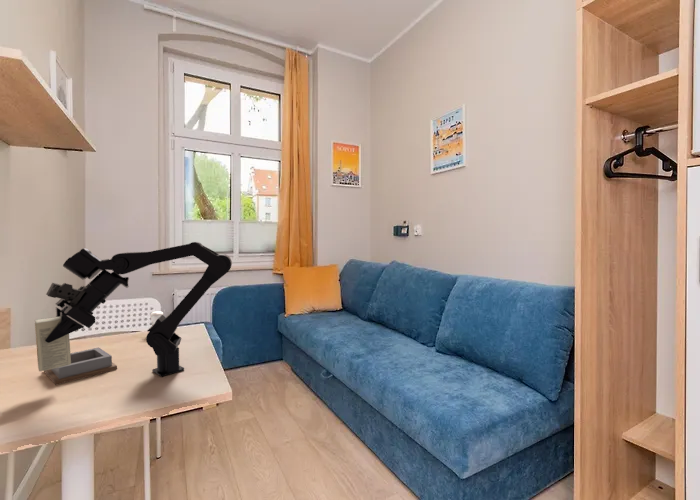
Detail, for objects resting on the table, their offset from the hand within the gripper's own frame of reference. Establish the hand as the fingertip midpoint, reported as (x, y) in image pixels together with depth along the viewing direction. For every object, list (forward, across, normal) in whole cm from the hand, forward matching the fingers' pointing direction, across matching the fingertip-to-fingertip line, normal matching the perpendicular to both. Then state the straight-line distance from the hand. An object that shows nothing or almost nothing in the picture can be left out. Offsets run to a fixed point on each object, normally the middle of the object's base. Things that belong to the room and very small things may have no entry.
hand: (45, 339), depth 85 cm
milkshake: (-16, -36, +36) cm, 53 cm away
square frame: (+3, -12, +15) cm, 19 cm away
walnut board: (+4, -12, +15) cm, 20 cm away
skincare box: (+4, 0, +6) cm, 7 cm away
